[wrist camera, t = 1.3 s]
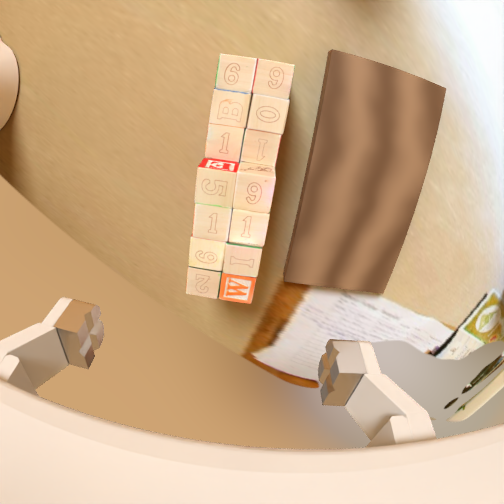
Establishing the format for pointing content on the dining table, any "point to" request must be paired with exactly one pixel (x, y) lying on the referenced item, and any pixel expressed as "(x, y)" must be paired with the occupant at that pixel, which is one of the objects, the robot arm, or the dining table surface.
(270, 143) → the stack of blocks
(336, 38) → the dining table surface
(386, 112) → the walnut board
